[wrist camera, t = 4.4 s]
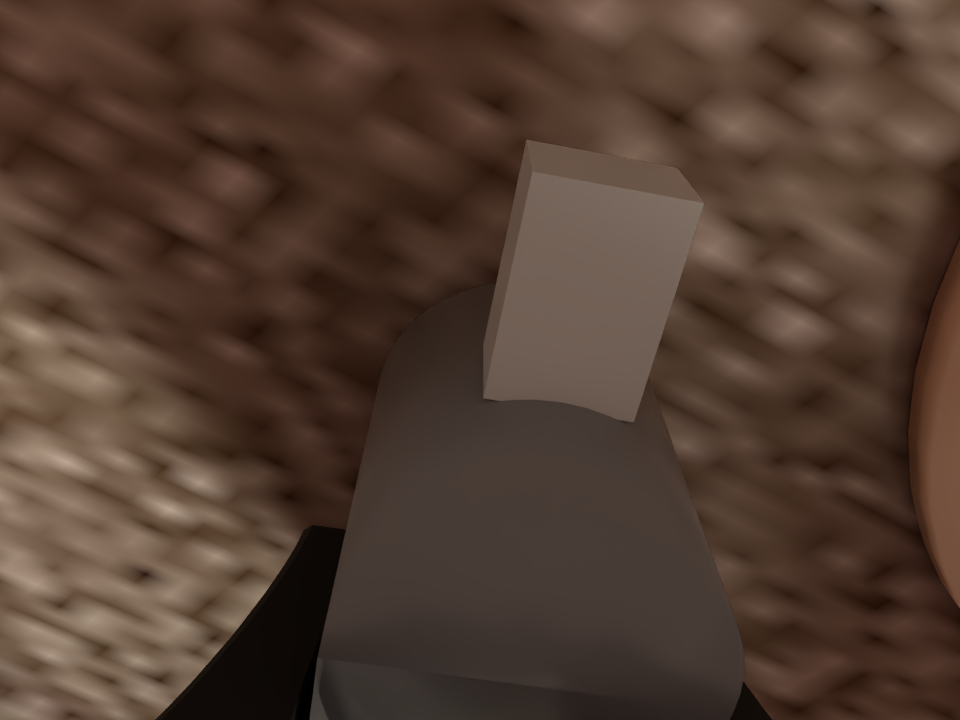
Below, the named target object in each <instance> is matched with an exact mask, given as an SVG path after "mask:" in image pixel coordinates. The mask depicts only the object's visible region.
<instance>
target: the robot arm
mask: <svg viewBox="0 0 960 720" xmlns="http://www.w3.org/2000/svg"><path fill="white" fill-rule="evenodd" d="M345 532H346V530H343V529H336V528H329V527H322V526H315V525H312V526H310V527H309V528H307V529H305V530H304V531H303V533H302V535H301V537H300V539H299V541H298V543H297V545H296V547H295V548H294V550H293V552H292V554H291V555H290V557H289V558H288V560H287V562H286V563H285V565H284V566H283V568H282V569H281V571H280V572H279V574H278V575H277V577H276V578H275V580H274V581H273V583H272V584H271V585H270V587H269V588H268V590H267V591H266V593H265V594H264V595H263V597H262V598H261V599H260V600H259V602H258V603H257V604H256V606H255V607H254V608H253V610H252V611H251V612H250V614H249V615H248V616H247V617H246V619H245V620H244V621H243V623H242V624H241V625H240V627H239V628H238V629H237V630H236V632H235V633H234V634H233V635H232V637H231V638H230V639H229V640H228V641H227V642H226V644H225V645H224V646H223V647H222V648H221V649H220V650H219V652H218V653H217V654H216V655H215V656H214V657H213V659H212V660H211V661H210V662H209V663H208V664H207V665H206V667H205V668H204V669H203V670H202V671H201V672H200V674H199V675H198V676H197V677H196V678H195V679H194V680H193V681H192V682H191V684H190V685H189V686H188V687H187V688H186V689H185V690H184V691H183V692H182V693H181V694H180V695H179V696H178V697H177V698H176V699H175V700H174V701H173V703H172V704H171V705H170V706H169V707H168V708H167V709H166V710H165V711H164V712H163V713H162V714H161V715H160V716H159V717H158V718H157V719H156V720H309V719H310V712H311V704H312V696H313V689H314V681H315V673H316V665H317V658H318V653H319V649H320V644H321V640H322V635H323V631H324V626H325V622H326V617H327V613H328V608H329V604H330V599H331V595H332V590H333V586H334V581H335V577H336V572H337V568H338V564H339V559H340V555H341V550H342V546H343V541H344V537H345ZM730 720H772V719H771V718H770V716H769V715H768V714H767V712H766V711H765V710H764V709H763V707H762V706H761V705H760V703H759V702H758V701H757V699H756V698H755V697H754V695H753V694H752V693H751V691H750V690H749V688H748V687H747V686H746V684H745V683H744V682H743V683H742V688H741V693H740V696H739V699H738V701H737V704H736V707H735V709H734V712H733V714H732V716H731V718H730Z"/></svg>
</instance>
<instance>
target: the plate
mask: <svg viewBox="0 0 960 720" xmlns="http://www.w3.org/2000/svg"><path fill="white" fill-rule="evenodd" d="M908 449H909V471H910V489H911V494H912V498H913V502H914V507H915V511H916V515H917V520H918V524H919V529H920V533H921V537H922V540H923V542H924V544H925V546H926V549H927V551H928V553H929V555H930V558H931V560H932V562H933V565H934V567H935V569H936V571H937V574H938V576H939V578H940V580H941V582H942V583H943V585H944V586H945V588H946V589H947V591H948V592H949V594H950V595H951V596H952V598H953V599H954V601H955V602H956V604H957V605H958V607H959V608H960V240H959V242H958V245H957V247H956V249H955V252H954V254H953V257H952V259H951V262H950V264H949V266H948V269H947V271H946V274H945V276H944V278H943V281H942V283H941V286H940V288H939V291H938V293H937V295H936V298H935V300H934V303H933V306H932V310H931V314H930V317H929V321H928V325H927V328H926V332H925V336H924V340H923V343H922V347H921V351H920V354H919V358H918V362H917V366H916V369H915V376H914V384H913V393H912V401H911V409H910V418H909V426H908Z"/></svg>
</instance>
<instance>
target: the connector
mask: <svg viewBox="0 0 960 720" xmlns="http://www.w3.org/2000/svg"><path fill="white" fill-rule="evenodd" d="M703 206H704V202H703V201H702V199H701V198H700V197H699V196H698V194H697V193H696V192H695V190H694V189H693V188H692V186H691V185H690V184H689V182H688V181H687V180H686V179H685V177H684V176H683V175H682V173H681V172H680V171H679V169H678V168H675V167H670V166H665V165H659V164H654V163H649V162H644V161H638V160H633V159H628V158H622V157H617V156H612V155H606V154H601V153H596V152H590V151H585V150H580V149H574V148H569V147H564V146H558V145H553V144H548V143H542V142H537V141H532V140H526V143H525V148H524V153H523V158H522V163H521V167H520V172H519V177H518V182H517V186H516V191H515V196H514V201H513V205H512V210H511V215H510V220H509V225H508V229H507V234H506V239H505V244H504V248H503V253H502V258H501V263H500V267H499V272H498V277H497V282H496V284H488V285H483V286H479V287H475V288H471V289H468V290H465V291H462V292H460V293H457V294H455V295H452V296H450V297H448V298H446V299H444V300H442V301H440V302H439V303H437V304H435V305H433V306H432V307H430V308H429V309H428V310H426V311H425V312H424V313H422V314H421V315H419V316H418V317H417V318H416V319H415V320H414V321H413V322H412V323H411V324H410V325H409V326H408V327H407V328H406V329H405V330H404V331H403V333H402V334H401V335H400V337H399V338H398V339H397V340H396V342H395V343H394V345H393V347H392V349H391V350H390V352H389V354H388V356H387V358H386V361H385V363H384V366H383V368H382V371H381V375H380V380H379V384H378V389H377V393H376V398H375V402H374V407H373V411H372V416H371V420H370V425H369V429H368V434H367V438H366V442H365V447H364V451H363V456H362V460H361V465H360V469H359V474H358V478H357V483H356V487H355V492H354V496H353V501H352V505H351V510H350V514H349V519H348V523H347V528H346V532H345V537H344V541H343V546H342V550H341V555H340V559H339V564H338V568H337V572H336V577H335V581H334V586H333V590H332V595H331V599H330V604H329V608H328V613H327V617H326V622H325V626H324V631H323V635H322V640H321V644H320V649H319V653H318V658H317V665H316V673H315V681H314V689H313V696H312V704H311V712H310V719H309V720H730V718H731V716H732V714H733V712H734V709H735V707H736V704H737V701H738V699H739V696H740V693H741V688H742V683H743V678H744V650H743V645H742V639H741V634H740V632H739V629H738V626H737V623H736V620H735V618H734V615H733V612H732V609H731V606H730V604H729V601H728V598H727V595H726V592H725V590H724V587H723V584H722V581H721V578H720V576H719V573H718V570H717V567H716V564H715V562H714V559H713V556H712V553H711V550H710V548H709V545H708V542H707V539H706V536H705V534H704V531H703V528H702V525H701V522H700V520H699V517H698V514H697V511H696V508H695V506H694V503H693V500H692V497H691V494H690V492H689V489H688V486H687V483H686V480H685V478H684V475H683V472H682V469H681V467H680V464H679V461H678V458H677V455H676V453H675V450H674V447H673V444H672V441H671V439H670V436H669V433H668V430H667V427H666V425H665V422H664V419H663V416H662V413H661V411H660V408H659V405H658V402H657V399H656V397H655V394H654V391H653V388H652V385H651V383H650V380H649V374H650V371H651V367H652V364H653V361H654V358H655V355H656V352H657V349H658V346H659V343H660V340H661V336H662V333H663V330H664V327H665V324H666V321H667V318H668V315H669V312H670V309H671V305H672V302H673V299H674V296H675V293H676V290H677V287H678V284H679V281H680V278H681V274H682V271H683V268H684V265H685V262H686V259H687V256H688V253H689V250H690V247H691V243H692V240H693V237H694V234H695V231H696V228H697V225H698V222H699V219H700V215H701V212H702V209H703Z"/></svg>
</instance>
